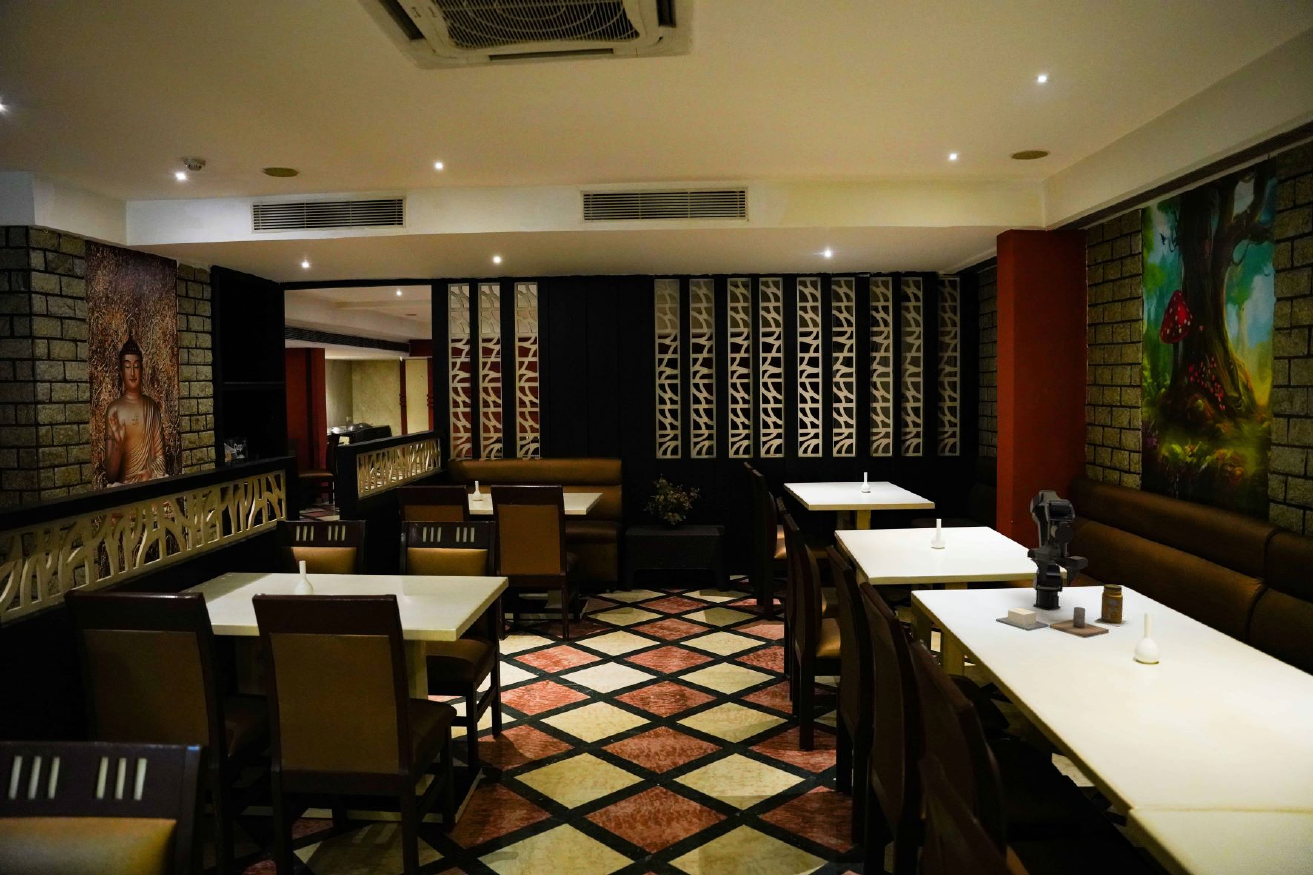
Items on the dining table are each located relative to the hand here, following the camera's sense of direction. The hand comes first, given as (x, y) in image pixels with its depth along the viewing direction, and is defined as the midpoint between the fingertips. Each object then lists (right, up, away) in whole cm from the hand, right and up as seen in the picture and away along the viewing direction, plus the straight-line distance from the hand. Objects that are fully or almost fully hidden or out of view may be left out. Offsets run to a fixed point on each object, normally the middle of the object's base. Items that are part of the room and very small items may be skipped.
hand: (1055, 583), depth 263 cm
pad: (-14, -12, -6) cm, 20 cm away
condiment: (+16, -12, -3) cm, 21 cm away
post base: (+1, -13, -13) cm, 18 cm away
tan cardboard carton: (-14, -12, -6) cm, 19 cm away
